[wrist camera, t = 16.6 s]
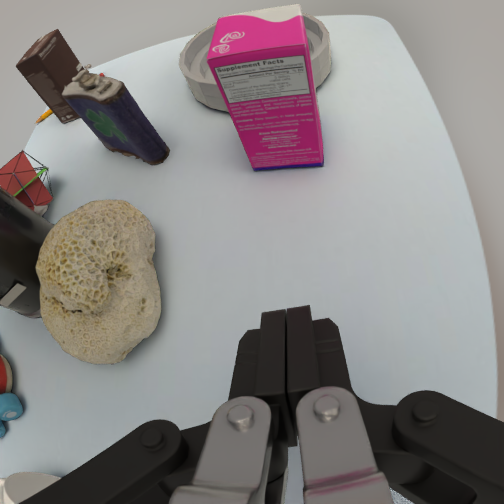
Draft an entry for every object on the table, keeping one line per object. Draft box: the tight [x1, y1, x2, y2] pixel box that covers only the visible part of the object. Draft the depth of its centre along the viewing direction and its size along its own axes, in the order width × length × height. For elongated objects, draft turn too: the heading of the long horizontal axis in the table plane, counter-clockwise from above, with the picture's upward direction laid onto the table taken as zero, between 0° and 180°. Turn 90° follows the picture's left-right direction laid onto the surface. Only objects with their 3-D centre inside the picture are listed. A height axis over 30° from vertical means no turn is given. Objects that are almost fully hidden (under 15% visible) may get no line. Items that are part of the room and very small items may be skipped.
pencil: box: [36, 73, 104, 123], centre depth 39 cm, size 1×13×1 cm
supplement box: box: [206, 4, 324, 171], centre depth 21 cm, size 6×6×12 cm
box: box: [16, 29, 85, 123], centre depth 32 cm, size 6×4×12 cm
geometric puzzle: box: [0, 150, 53, 216], centre depth 28 cm, size 7×7×8 cm
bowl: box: [179, 13, 331, 112], centre depth 29 cm, size 15×15×4 cm
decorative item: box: [36, 200, 161, 364], centre depth 22 cm, size 12×9×10 cm
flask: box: [62, 64, 170, 165], centre depth 25 cm, size 9×3×11 cm, turn 60°
